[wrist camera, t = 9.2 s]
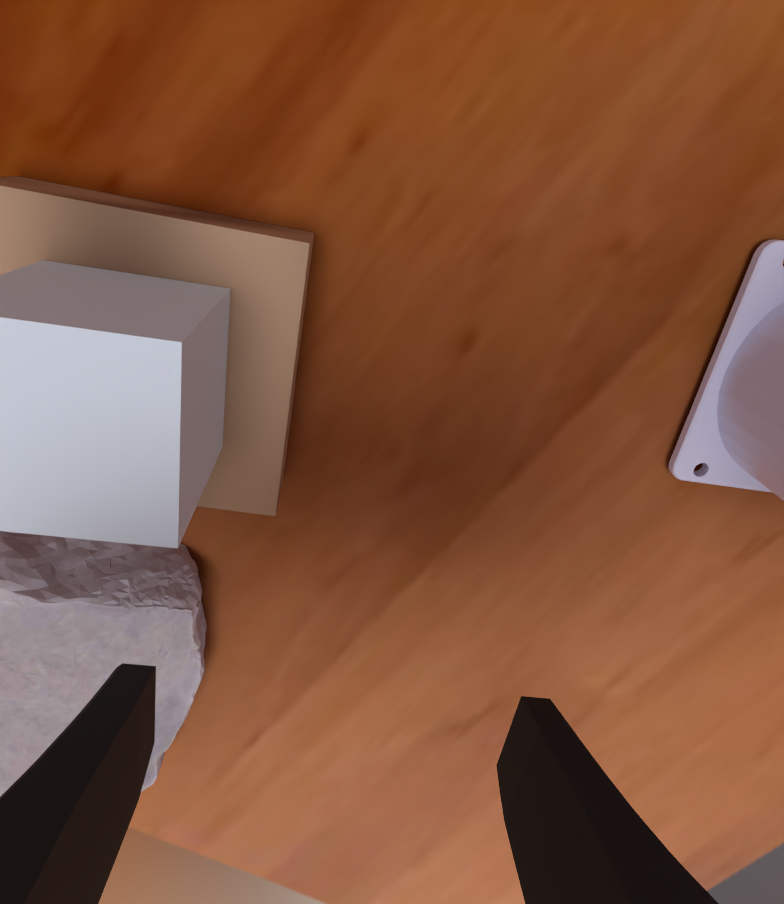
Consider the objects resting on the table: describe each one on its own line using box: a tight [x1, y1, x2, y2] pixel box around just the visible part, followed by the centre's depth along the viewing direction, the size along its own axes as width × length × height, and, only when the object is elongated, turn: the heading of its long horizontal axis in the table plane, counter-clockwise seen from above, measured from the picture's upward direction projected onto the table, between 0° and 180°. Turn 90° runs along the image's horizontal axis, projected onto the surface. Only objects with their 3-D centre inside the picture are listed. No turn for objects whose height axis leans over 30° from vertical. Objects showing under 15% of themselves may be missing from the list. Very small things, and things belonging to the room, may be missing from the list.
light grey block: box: [0, 260, 231, 548], centre depth 14 cm, size 4×4×5 cm
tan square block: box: [0, 176, 314, 516], centre depth 18 cm, size 8×8×3 cm
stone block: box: [0, 531, 207, 796], centre depth 22 cm, size 12×5×10 cm
